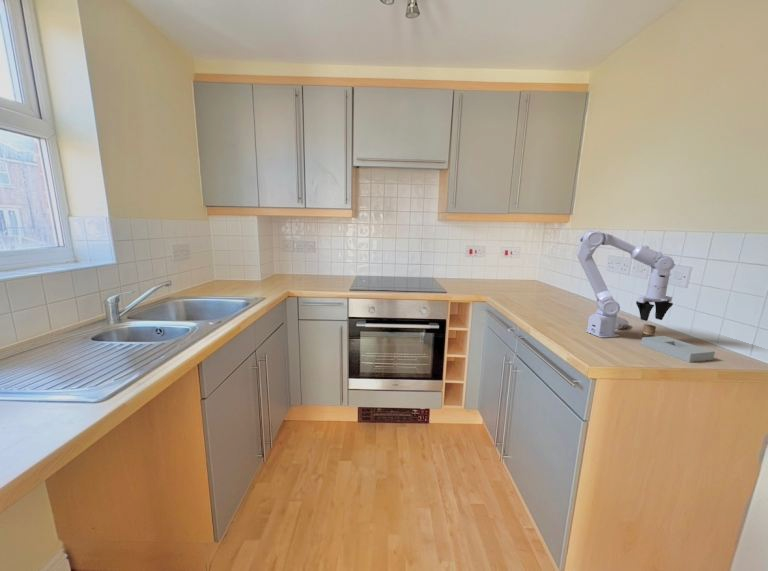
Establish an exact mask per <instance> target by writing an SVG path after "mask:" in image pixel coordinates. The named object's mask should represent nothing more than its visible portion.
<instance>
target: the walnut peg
mask: <svg viewBox="0 0 768 571" xmlns="http://www.w3.org/2000/svg"><path fill="white" fill-rule="evenodd" d="M656 328H657V326H656V325H653V324H647V323H646V324H644V325H643V329H642V334H641V338H642V337H655V333H656Z"/></svg>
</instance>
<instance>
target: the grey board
mask: <svg viewBox="0 0 768 571" xmlns="http://www.w3.org/2000/svg"><path fill="white" fill-rule="evenodd" d="M640 345H641V346H643V347H646V348H648V349H651V350H654V351H655V352H656V351H657V352H658V353H659V352H660V353H662V354H665V355H668V356H670V357H674V358H676V359H679V360H682V361H684V362H687V363H694V361H697V362H705V361H706V360H707V361H713V360H714V358H715V354H716V351H715V350H714V351H713V350H711V349H709V348H704V347H702V346H698V345H695V344H693V343H688V342H685V341H682V340H679V339H677V338H672V337H669V336H666V335H657V336H654V337H642V336H641V342H640Z"/></svg>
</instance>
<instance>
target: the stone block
mask: <svg viewBox="0 0 768 571" xmlns="http://www.w3.org/2000/svg"><path fill="white" fill-rule="evenodd" d="M626 327H627V328H628V327H629V321H628V320H627V319H625V318H622V317H620V316H618V315H617V319H616V325H615V330H616V329H620V330H623V329H622V328H624V329H627V328H626Z"/></svg>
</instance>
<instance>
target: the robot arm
mask: <svg viewBox="0 0 768 571" xmlns="http://www.w3.org/2000/svg"><path fill="white" fill-rule="evenodd" d="M600 246H611V247H614V248H616V249H619V250H621V251H623V252H625V253H628V254H630V258H631V259H633V260H635V261H638V262H640V263H642V264H644V265H646V266H649V267H650V268H651V269H650V273H649V277H648V284H647V290H646V295H643V296H638V298H637V300H636V301H635V304H636V306H637V309H638V310H639V311H638V312H639V317H640V320H641V321H644V322H645V321H646V322H647V321H648V320H649V318H650V313H651V311H652V309H653V308H654V307H655V313H654V314H655V315H654V318H655V319H656V320H660V321H663V319H664V317H665V315H666V314H667V312H668V310H669V309H670V308H672V306H673V304H674V303H673V302H672V299H673V297H672V296H669V295H668V296H667V290H668V286H669V280H670V273H671V270H673V269H674V267H675V265H676V263H675V261H674V260H673V257H670V256H668V255H663V252H662V251H656V250H653V249H652V248H650V246H648V245H647V244H644V245H643V244H641V245H637V246H636V245H633V244H631V243H629V242H627V241H625V240H623V239H621V238H619V237H616V236H615V235H613V234H609V233H605V232H602V231H600V230H588V231H585V233H583V235H582V236H581V237H580V239H579V244H578V249H577V253H576V256H577V259H578V260H579V263H580V266H581V268H582V269H583V271H584V273H585V276H586V278H587V280H588V281H589V284H590V286H591V288H592V291H593V293H594V295H595V299H596V307H597V309H596V311H595V313H593V314H591V315H590V316H589V317H588V320H587V328H586V329H585V330H584V332H586V333H588V334H590V333H591V334H590V335H593V336H596V337H598V338H615V337H620V335H619V334H617V333H615V330H616V329H615V325H616V319H617V316H618V313H619V311H620V310H621V307H620V304H619V302H618V301H617V300H615V299H614V298H613V296H612V294H611V292H610V290H609V289H608V287H607V285H606V282H605V280H604V279H603V276H602V275H601V272H600V270H599V268H598V266H597V264H596V262H595V259H594V258H593V255H594V253H595V251H596V250H597V249H598V248H599V247H600ZM651 303H654V304H651Z"/></svg>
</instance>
